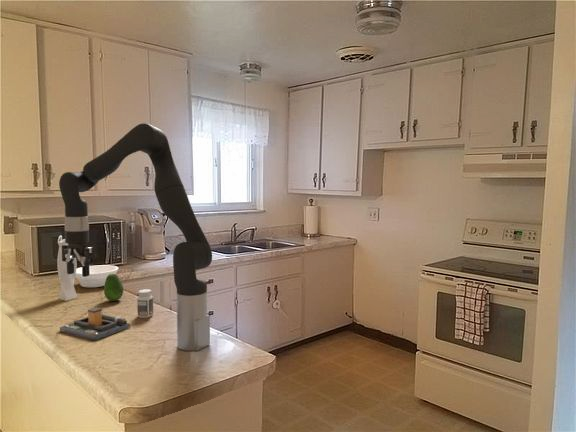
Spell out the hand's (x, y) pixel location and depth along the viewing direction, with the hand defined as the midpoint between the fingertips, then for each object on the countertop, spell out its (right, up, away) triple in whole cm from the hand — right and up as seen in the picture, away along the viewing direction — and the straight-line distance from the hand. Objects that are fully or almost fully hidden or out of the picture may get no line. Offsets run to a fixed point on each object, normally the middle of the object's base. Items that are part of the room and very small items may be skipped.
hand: (78, 275), depth 143 cm
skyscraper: (-23, -16, +36) cm, 45 cm away
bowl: (-22, -14, +60) cm, 65 cm away
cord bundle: (+10, -17, +3) cm, 20 cm away
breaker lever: (+7, -17, -2) cm, 19 cm away
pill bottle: (+19, -18, +13) cm, 29 cm away
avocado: (-1, -16, +32) cm, 36 cm away
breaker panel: (+7, -19, -2) cm, 20 cm away
